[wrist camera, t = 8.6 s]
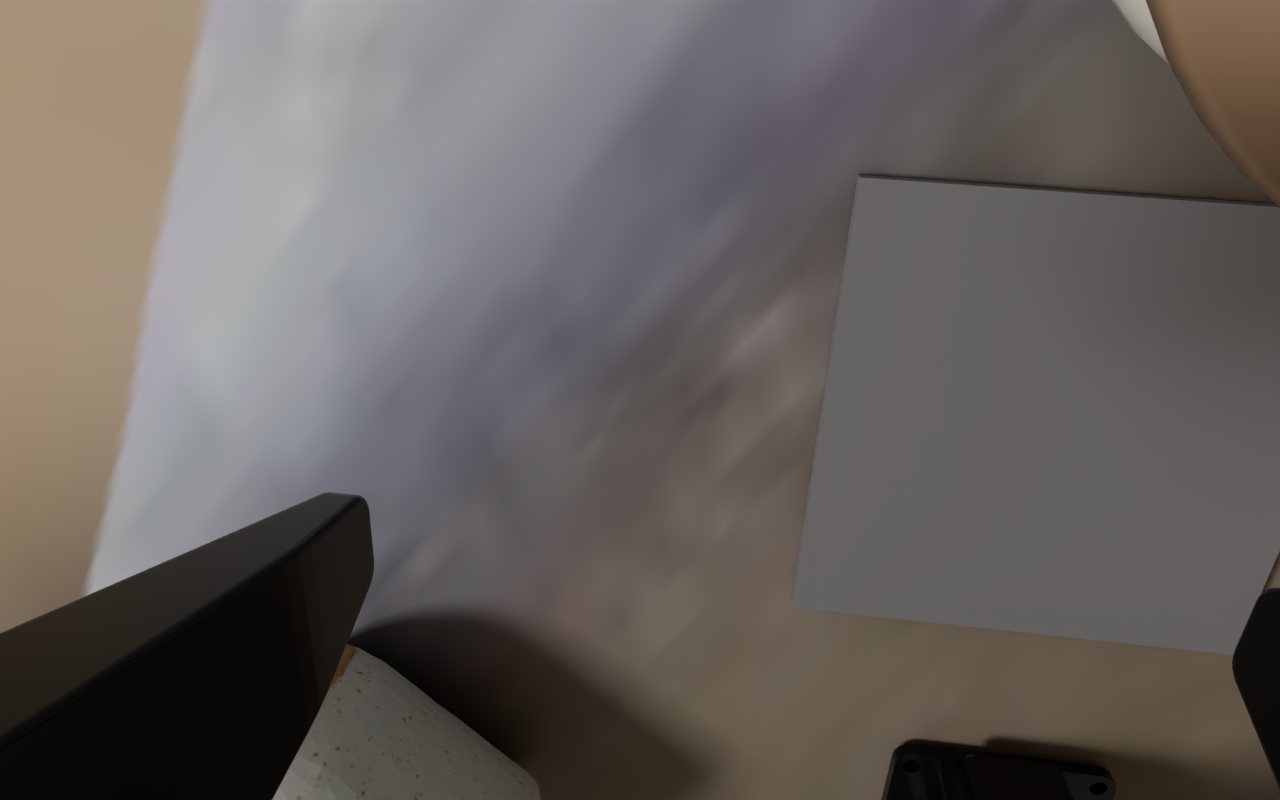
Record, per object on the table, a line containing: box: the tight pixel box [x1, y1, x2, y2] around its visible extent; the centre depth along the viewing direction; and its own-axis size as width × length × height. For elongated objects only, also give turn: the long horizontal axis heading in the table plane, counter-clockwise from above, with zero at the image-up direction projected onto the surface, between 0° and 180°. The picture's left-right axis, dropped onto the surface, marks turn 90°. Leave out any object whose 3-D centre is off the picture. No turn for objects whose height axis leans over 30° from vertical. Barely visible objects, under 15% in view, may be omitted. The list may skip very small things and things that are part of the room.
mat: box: [791, 174, 1280, 655], centre depth 21 cm, size 12×12×1 cm
